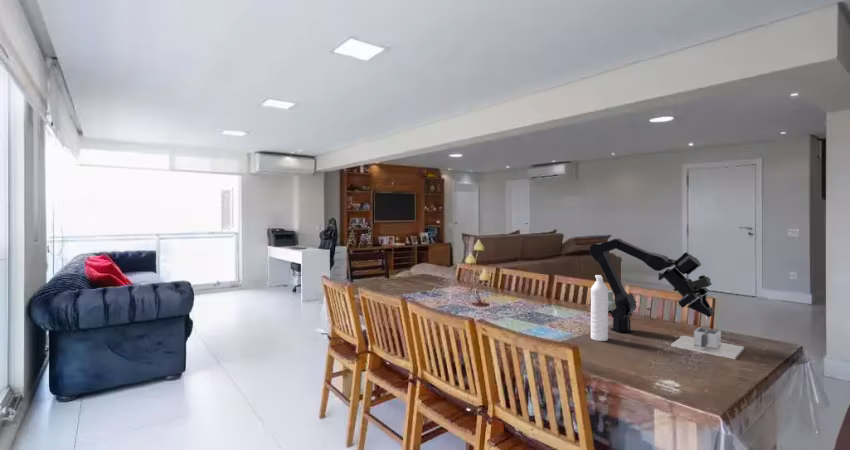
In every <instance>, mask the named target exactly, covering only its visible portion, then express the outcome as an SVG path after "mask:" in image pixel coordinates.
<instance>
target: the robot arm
mask: <svg viewBox="0 0 850 450" xmlns="http://www.w3.org/2000/svg"><path fill="white" fill-rule="evenodd" d="M613 250H618V251H621V252H623V253H625V254H626V255H627V254H628V256H631V257H633V258H636V259H638V260H640V261H642V262H643V263H644V264H645V265H647V266H648V267H649V268H651V269H652V270H654V271H657V272H659V273H658V281H662V280H663V279H665V281H667V282H668V283H669V284H670V285H671V286H672V287H673V291H674V292H678V294H680V296H682V297H681V298H680V299H679V300H678V306H680V307H681V308H682V309H683V308H685V307H687V308H688V309H691V310H693V311H695V312H698V313H701V314H703V315H705V317H706V316H709V318H710V317H712V316H713V315H714V314H715V311H713V315H712V314H711V313H710V312H709V310H708V309H707V308H706V307H711V304H710V303H709V302H708V301H709V300H708V299H707V298H708V293H709V292H710V290H709V288H708V287H710V286H712V285H713V284H712V282H711V278H709V276H706V275H704V274H703V275H699V276H698V279H695V280H692V279H691V278H687V277H686V276H685V274H686V275H691V274H692V273H693V272H694V271H696V270H697V269H698V268H699V267H701V266H702V263H701V262H700V260H698V258H697V257H694V255H692V254H689V252H687V251H686V252H684V253H683V254H682V255H681V256H680V257H678V258H677V259H672V258H669V257H668V256H667V255H664V254H660V253H655V252H650V251H647V250H645V249H643V248H641V247H639V246H636V245H633V244H631V243H630V242H627V241H624V240H622V239H621V238H613V239H611V240H608V241H606V242H598V243H594V244H591V245H590V247H589V249H588V252H589V254H590V255H591V257H592V259H593V260H594V261H595V262H597V263H598V265H599V266H600V269H601V270H602V273H603V275H604V277H605V279H606V281H607V283H608V285H609V287H610V290H611V291H613V297H614V300H615V305H616V308H615V309H614V310H613V311H611V312H610V315H611V317H612V327H609V329H610V330H611V331H614V332H617V333H620V334H625V333H631V332H634V330H632V329H631V316H632V314H633V313H634V312H635V311H636V309H637V303H638V302H637V301H636V299H635V298H634V295H633V293H630V294H629V293H628V292H627V291H626V289H625V287H624V286H623V284H622V282H621V280H620V278H619V276H618V274H617V272H616V269H615V268H614V266H613V263H612V262H611V253H610V252H611V251H613ZM672 267H673V268H672ZM670 268H671V269H670ZM663 270H664V271H663ZM661 271H663V272H661Z"/></svg>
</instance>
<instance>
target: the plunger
mask: <svg viewBox="0 0 850 450" xmlns="http://www.w3.org/2000/svg"><path fill="white" fill-rule="evenodd" d="M706 308H707V309H708V310H709V312H710V313H711V314H712V316H713V315H714V314H713V312H714V307H712V306H710V307H706ZM705 328H706V332H704V333H709V329H710V317H709V316H706V315H705ZM701 332H702V331H701ZM710 334H713V333H710Z"/></svg>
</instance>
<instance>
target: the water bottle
mask: <svg viewBox="0 0 850 450" xmlns="http://www.w3.org/2000/svg"><path fill="white" fill-rule="evenodd" d="M594 277H595V282H594V283H593V284H592V286H591V288H590V338H591V339H592V340H593V341H598V342H606V341H608V340H609V311H608V290H609V288H608V287H607V285H606V284H605V282H604V278H603V276H602V275H601V274H595V275H594Z"/></svg>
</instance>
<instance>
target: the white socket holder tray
mask: <svg viewBox="0 0 850 450" xmlns="http://www.w3.org/2000/svg"><path fill="white" fill-rule="evenodd" d="M701 331H702V332H701ZM704 332H706V327H700V326H699V327H698V328H696V329H695V330H694V331H693V336H688V335H682V336H680V337H679V338H678V339H676V340H675V341H674V342H672V343H671V344H670V347H674V348H678V349H682V350H683V349H684V350H688V351H693V352H698V353H703V354H708V355H712V356H717V357H720V358H721V357H722V358H727V359H730V360H736V359H737V358H738V357H739V355H741V354H742V353H743V351H744V350H745V346H742V345H736V344H730V343H725V342H722V341H721V338H722V330H718V329H713V328H712V329H711V328H709V333H704ZM710 333H713V334H710Z"/></svg>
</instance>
